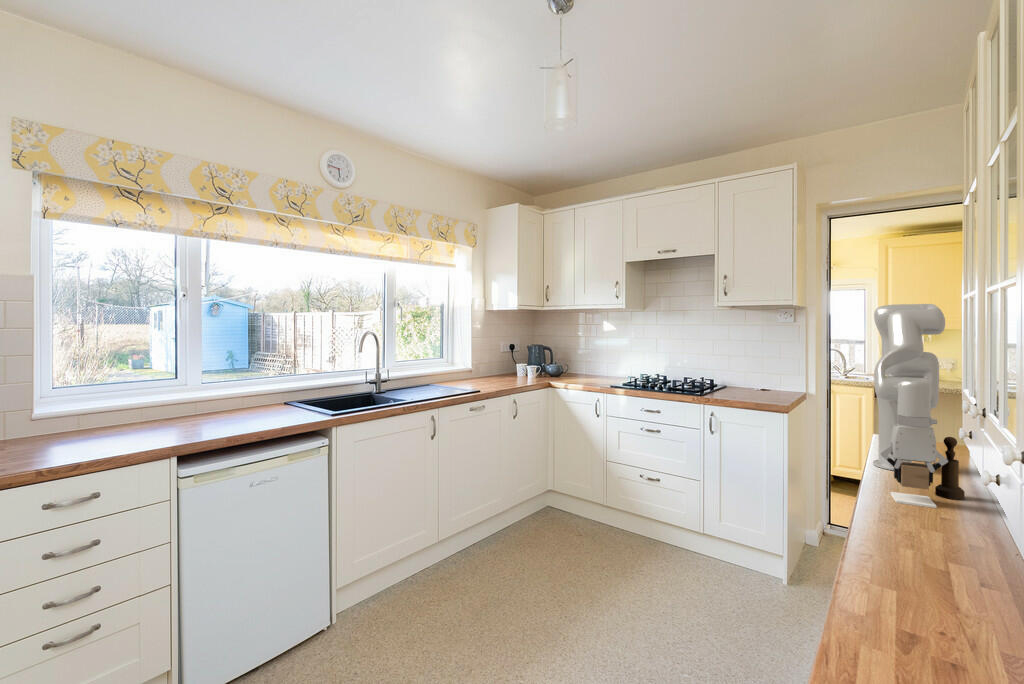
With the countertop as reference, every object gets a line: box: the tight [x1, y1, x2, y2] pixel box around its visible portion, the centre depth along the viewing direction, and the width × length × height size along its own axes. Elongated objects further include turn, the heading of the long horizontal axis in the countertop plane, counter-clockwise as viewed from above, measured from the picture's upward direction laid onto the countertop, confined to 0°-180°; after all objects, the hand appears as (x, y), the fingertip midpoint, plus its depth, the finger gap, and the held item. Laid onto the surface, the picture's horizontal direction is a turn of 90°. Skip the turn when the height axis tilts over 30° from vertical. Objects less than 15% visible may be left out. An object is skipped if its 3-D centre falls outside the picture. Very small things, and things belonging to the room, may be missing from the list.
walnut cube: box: [898, 462, 930, 491], centre depth 142 cm, size 6×6×6 cm
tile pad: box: [890, 491, 938, 509], centre depth 143 cm, size 9×9×1 cm
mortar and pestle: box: [934, 436, 966, 501], centre depth 146 cm, size 7×6×18 cm
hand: (913, 482), depth 142 cm, fingers closed on walnut cube, 6 cm apart
